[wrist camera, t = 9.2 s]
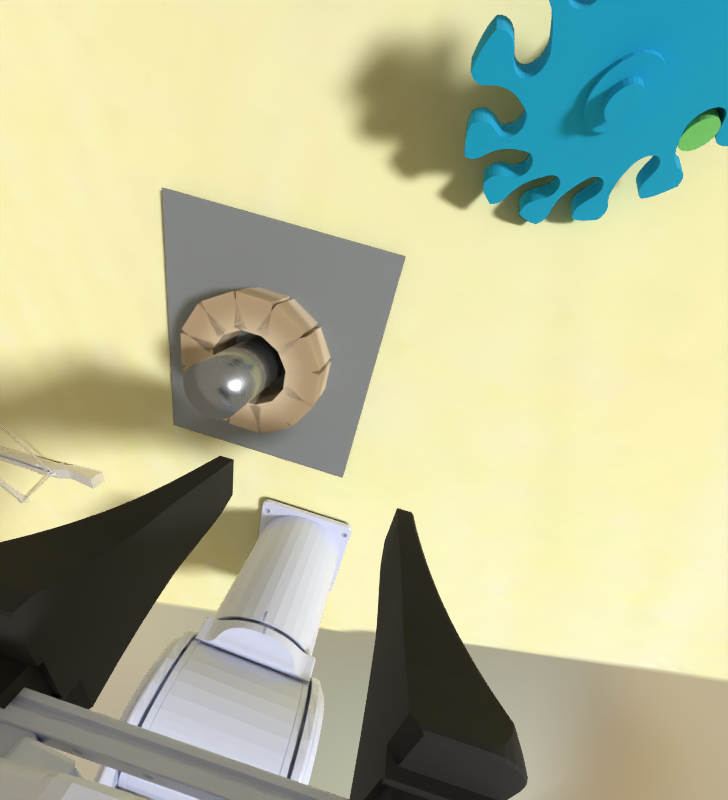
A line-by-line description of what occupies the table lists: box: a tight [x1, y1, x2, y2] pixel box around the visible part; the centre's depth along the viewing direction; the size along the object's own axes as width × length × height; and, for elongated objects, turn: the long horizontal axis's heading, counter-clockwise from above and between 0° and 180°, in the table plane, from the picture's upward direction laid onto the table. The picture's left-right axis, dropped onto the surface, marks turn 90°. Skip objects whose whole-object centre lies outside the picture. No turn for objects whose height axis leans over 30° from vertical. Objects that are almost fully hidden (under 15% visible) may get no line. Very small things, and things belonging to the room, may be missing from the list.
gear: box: [465, 0, 728, 224], centre depth 11 cm, size 11×6×10 cm
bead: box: [181, 287, 331, 433], centre depth 19 cm, size 8×8×2 cm
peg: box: [183, 335, 285, 419], centre depth 17 cm, size 3×3×6 cm
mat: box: [162, 188, 406, 477], centre depth 20 cm, size 16×14×1 cm
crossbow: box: [0, 425, 105, 504], centre depth 30 cm, size 16×13×2 cm
